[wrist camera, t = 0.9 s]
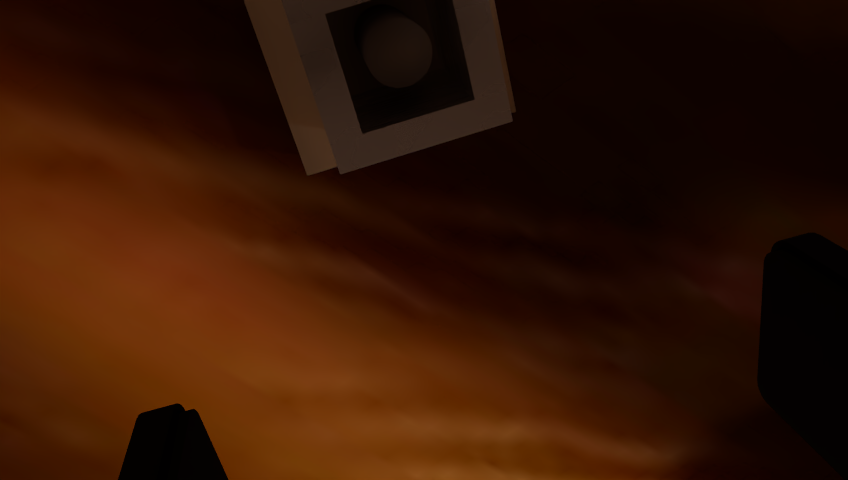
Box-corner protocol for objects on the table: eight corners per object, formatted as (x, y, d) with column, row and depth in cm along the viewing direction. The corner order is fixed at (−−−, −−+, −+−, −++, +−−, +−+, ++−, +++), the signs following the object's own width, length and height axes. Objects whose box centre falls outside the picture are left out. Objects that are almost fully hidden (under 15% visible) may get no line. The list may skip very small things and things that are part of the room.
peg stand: (452, -124, 28) (505, -143, 21) (497, 97, 33) (554, 142, 26) (229, -60, 28) (206, -57, 21) (306, 155, 32) (309, 218, 25)
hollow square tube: (438, -71, 26) (474, -72, 21) (473, 86, 29) (512, 121, 24) (280, -25, 26) (276, -14, 21) (331, 129, 29) (340, 174, 24)
